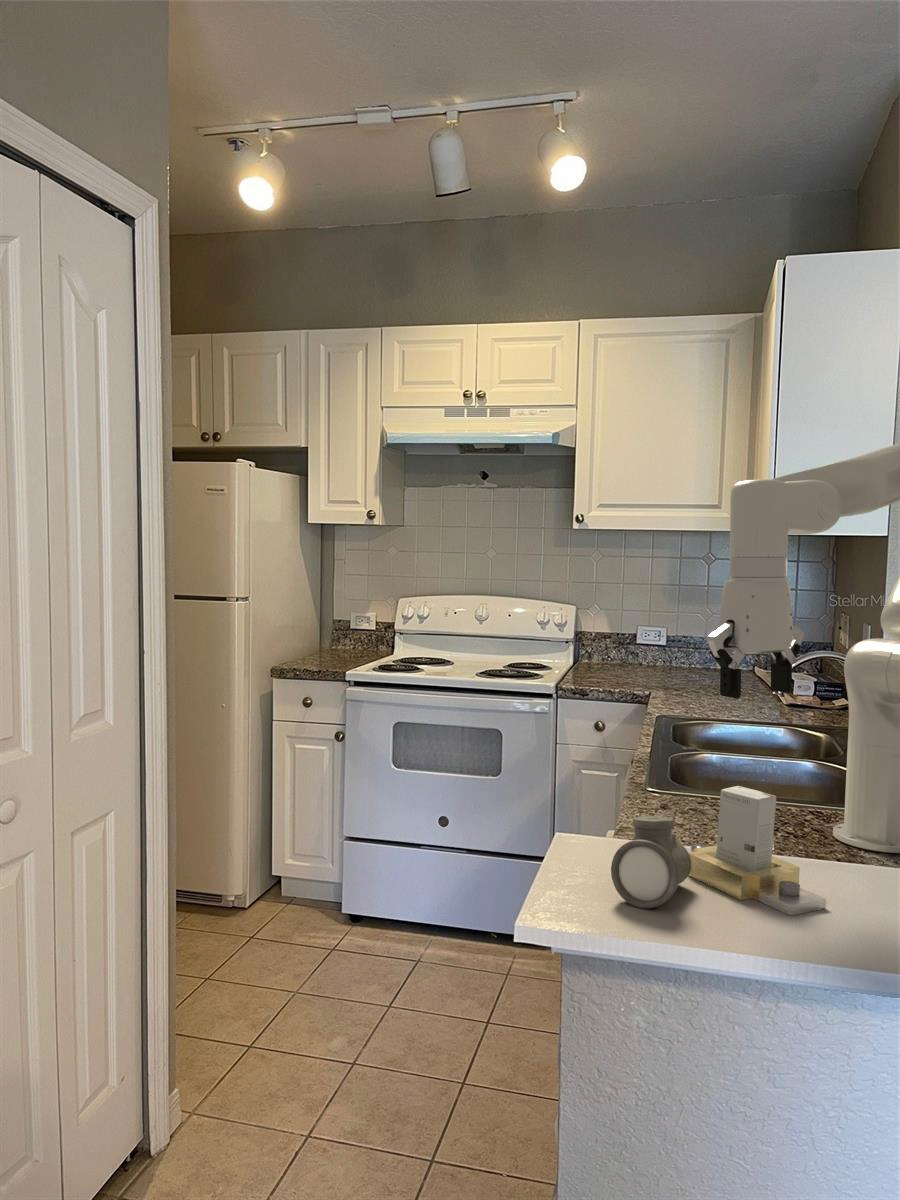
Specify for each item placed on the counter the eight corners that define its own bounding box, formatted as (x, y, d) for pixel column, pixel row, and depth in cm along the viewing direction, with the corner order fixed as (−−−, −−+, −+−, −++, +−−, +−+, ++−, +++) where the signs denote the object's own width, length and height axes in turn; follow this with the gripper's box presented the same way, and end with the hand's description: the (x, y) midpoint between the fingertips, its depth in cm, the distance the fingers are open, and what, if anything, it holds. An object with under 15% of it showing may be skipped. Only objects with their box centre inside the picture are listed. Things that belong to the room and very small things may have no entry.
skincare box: (713, 878, 118) (716, 788, 118) (733, 872, 121) (737, 784, 120) (753, 892, 113) (757, 799, 113) (773, 886, 116) (777, 794, 115)
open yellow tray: (711, 852, 129) (712, 832, 129) (837, 906, 109) (838, 882, 109) (657, 860, 124) (658, 839, 124) (778, 917, 105) (779, 892, 105)
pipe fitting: (673, 914, 104) (672, 825, 105) (609, 904, 108) (609, 819, 109) (704, 896, 114) (703, 815, 115) (644, 888, 118) (643, 810, 119)
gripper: (781, 569, 128) (778, 686, 129) (691, 570, 120) (689, 695, 121) (824, 570, 122) (821, 693, 123) (732, 571, 114) (730, 703, 114)
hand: (756, 694), depth 122 cm, fingers open, 9 cm apart
